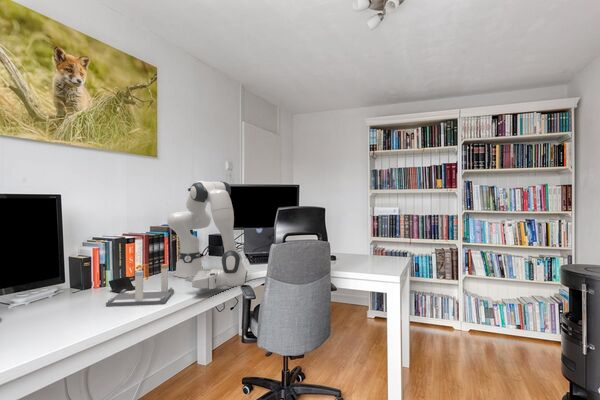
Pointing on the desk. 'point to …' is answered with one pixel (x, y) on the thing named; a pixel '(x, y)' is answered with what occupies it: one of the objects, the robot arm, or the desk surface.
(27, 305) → the desk surface
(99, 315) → the desk surface
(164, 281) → the grey upright post
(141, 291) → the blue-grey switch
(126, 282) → the handheld gaming console
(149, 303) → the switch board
